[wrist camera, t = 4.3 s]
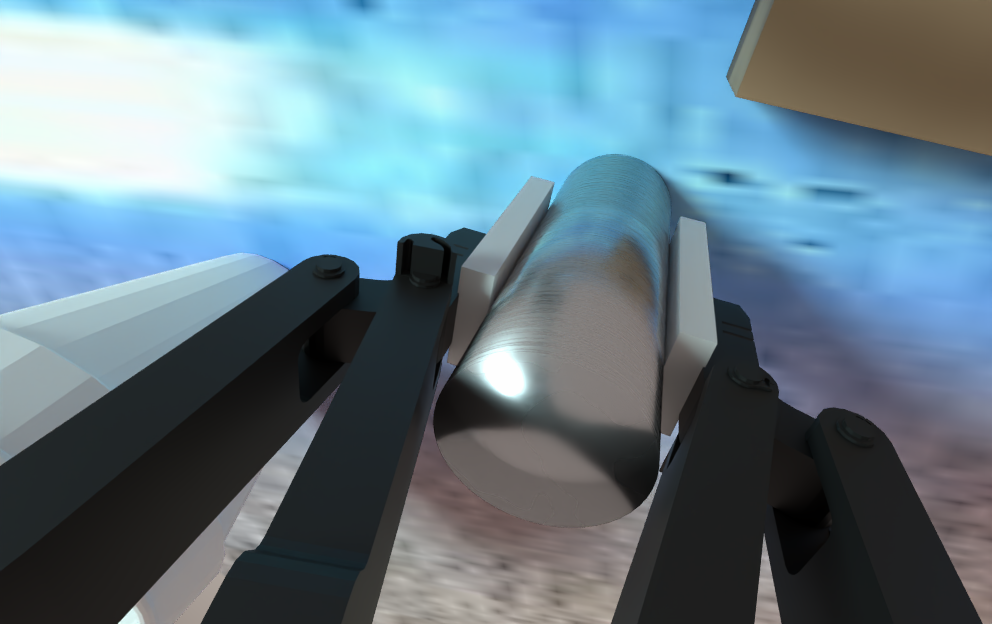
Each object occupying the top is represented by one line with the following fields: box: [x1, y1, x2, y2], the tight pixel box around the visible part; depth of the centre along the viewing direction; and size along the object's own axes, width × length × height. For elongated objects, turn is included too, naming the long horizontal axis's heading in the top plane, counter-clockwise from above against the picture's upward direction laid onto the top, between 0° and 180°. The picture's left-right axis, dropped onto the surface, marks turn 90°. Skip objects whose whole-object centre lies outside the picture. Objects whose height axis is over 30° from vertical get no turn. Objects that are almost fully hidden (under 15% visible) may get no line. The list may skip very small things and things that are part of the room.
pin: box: [433, 154, 671, 528], centre depth 14 cm, size 4×4×12 cm
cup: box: [0, 253, 289, 624], centre depth 21 cm, size 12×12×14 cm
